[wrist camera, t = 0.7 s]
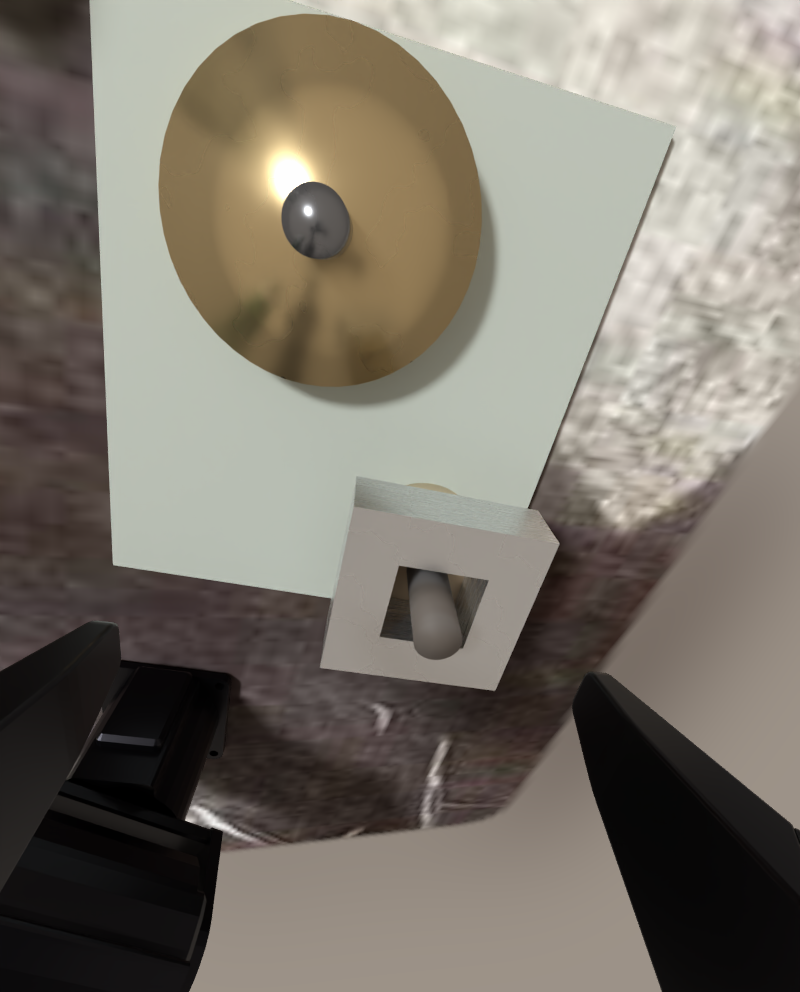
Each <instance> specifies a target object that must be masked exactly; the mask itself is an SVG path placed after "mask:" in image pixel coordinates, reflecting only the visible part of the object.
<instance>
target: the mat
mask: <svg viewBox="0 0 800 992" xmlns="http://www.w3.org/2000/svg"><path fill="white" fill-rule="evenodd" d="M296 14H320V15H331V16H335V17H339V16H336V15H333V14H330V13H327V12H324V11H321V10H318V9H315V8H312V7H308V6H305V5H302V4H299V3H296V2H293V1H290V0H90V23H91V47H92V71H93V95H94V119H95V143H96V167H97V191H98V215H99V239H100V263H101V287H102V311H103V336H104V360H105V384H106V408H107V432H108V456H109V480H110V504H111V528H112V552H113V565H117V566H123V567H130V568H136V569H143V570H150V571H156V572H163V573H169V574H176V575H182V576H189V577H195V578H202V579H209V580H215V581H222V582H228V583H235V584H241V585H248V586H254V587H261V588H268V589H274V590H281V591H287V592H294V593H300V594H307V595H313V596H320V597H326V598H332V593H333V588H334V583H335V578H336V574H337V569H338V564H339V559H340V554H341V549H342V544H343V540H344V535H345V530H346V525H347V520H348V515H349V510H350V506H351V501H352V496H353V491H354V486H355V481H356V476H360V477H365V478H370V479H375V480H381V481H386V482H391V483H396V484H402V485H409V484H414V483H430V484H436V485H440V486H443V487H445V488H448V489H449V490H451V491H453V492H454V493H456V494H457V495H459V496H465V497H470V498H475V499H480V500H486V501H491V502H496V503H501V504H507V505H512V506H517V507H522V508H528V506H529V504H530V501H531V498H532V496H533V493H534V491H535V488H536V486H537V483H538V480H539V478H540V475H541V473H542V470H543V468H544V465H545V462H546V460H547V457H548V455H549V452H550V450H551V447H552V444H553V442H554V439H555V437H556V434H557V432H558V429H559V427H560V424H561V421H562V419H563V416H564V414H565V411H566V409H567V406H568V403H569V401H570V398H571V396H572V393H573V391H574V388H575V385H576V383H577V380H578V378H579V375H580V373H581V370H582V367H583V365H584V362H585V360H586V357H587V355H588V352H589V350H590V347H591V344H592V342H593V339H594V337H595V334H596V332H597V329H598V326H599V324H600V321H601V319H602V316H603V314H604V311H605V308H606V306H607V303H608V301H609V298H610V296H611V293H612V290H613V288H614V285H615V283H616V280H617V278H618V275H619V273H620V270H621V267H622V265H623V262H624V260H625V257H626V255H627V252H628V249H629V247H630V244H631V242H632V239H633V237H634V234H635V231H636V229H637V226H638V224H639V221H640V219H641V216H642V214H643V211H644V208H645V206H646V203H647V201H648V198H649V196H650V193H651V190H652V188H653V185H654V183H655V180H656V178H657V175H658V172H659V170H660V167H661V165H662V162H663V160H664V157H665V154H666V152H667V149H668V147H669V144H670V142H671V139H672V137H673V134H674V131H675V129H676V126H673V125H670V124H667V123H664V122H661V121H658V120H655V119H652V118H648V117H645V116H642V115H639V114H636V113H633V112H630V111H627V110H624V109H621V108H618V107H615V106H612V105H609V104H606V103H603V102H599V101H596V100H593V99H590V98H587V97H584V96H581V95H578V94H575V93H572V92H569V91H566V90H563V89H560V88H557V87H554V86H550V85H547V84H544V83H541V82H538V81H535V80H532V79H529V78H526V77H523V76H520V75H517V74H514V73H511V72H508V71H505V70H501V69H498V68H495V67H492V66H489V65H486V64H483V63H480V62H477V61H474V60H471V59H468V58H465V57H462V56H459V55H456V54H452V53H449V52H446V51H443V50H440V49H437V48H434V47H431V46H428V45H425V44H422V43H419V42H416V41H413V40H410V39H406V38H403V37H400V36H397V35H394V34H391V33H388V32H385V31H382V30H379V29H376V28H373V27H370V26H367V25H364V24H362V25H364V26H367V27H369V28H371V29H374V30H376V31H378V32H380V33H381V34H383V35H384V36H386V37H388V38H389V39H391V40H393V41H394V42H396V43H397V44H399V45H400V46H401V47H402V48H404V49H405V50H406V51H407V52H408V53H410V54H411V55H412V56H413V57H414V58H416V59H417V60H418V61H419V62H420V63H421V64H422V65H423V67H424V68H425V69H426V70H427V71H428V72H429V73H430V74H431V75H432V76H433V78H434V79H435V80H436V81H437V83H438V84H439V85H440V87H441V88H442V90H443V91H444V93H445V94H446V96H447V97H448V98H449V100H450V101H451V103H452V105H453V107H454V109H455V111H456V113H457V115H458V117H459V118H460V120H461V122H462V124H463V127H464V129H465V132H466V135H467V137H468V140H469V142H470V145H471V148H472V151H473V155H474V159H475V163H476V167H477V171H478V176H479V184H480V191H481V202H482V227H481V238H480V247H479V252H478V256H477V261H476V266H475V270H474V273H473V276H472V279H471V282H470V285H469V288H468V290H467V292H466V294H465V297H464V299H463V301H462V303H461V305H460V307H459V309H458V311H457V312H456V314H455V315H454V317H453V319H452V320H451V322H450V324H449V325H448V326H447V328H446V329H445V330H444V331H443V333H442V334H441V335H440V336H439V338H438V339H437V340H436V341H435V342H434V343H433V344H432V345H431V346H430V347H429V348H428V349H427V350H426V351H425V352H424V353H423V354H421V355H420V356H419V357H417V358H416V359H415V360H413V361H412V362H411V363H409V364H408V365H406V366H404V367H403V368H401V369H399V370H397V371H395V372H394V373H392V374H390V375H387V376H385V377H382V378H380V379H377V380H374V381H370V382H366V383H362V384H358V385H351V386H342V387H321V386H314V385H307V384H301V383H298V382H294V381H291V380H287V379H284V378H282V377H279V376H277V375H274V374H272V373H270V372H267V371H265V370H264V369H262V368H260V367H258V366H256V365H255V364H253V363H251V362H249V361H248V360H247V359H245V358H244V357H243V356H241V355H240V354H239V353H237V352H236V351H234V350H233V349H232V348H231V347H230V346H229V345H228V344H227V343H225V342H224V341H223V340H222V339H221V338H220V337H219V336H218V335H217V334H216V333H215V332H214V331H213V329H212V328H211V327H210V326H209V325H208V324H207V322H206V321H205V320H204V319H203V318H202V316H201V315H200V313H199V312H198V310H197V309H196V307H195V306H194V305H193V303H192V302H191V300H190V298H189V297H188V295H187V293H186V291H185V289H184V287H183V285H182V284H181V282H180V280H179V278H178V275H177V273H176V270H175V268H174V265H173V263H172V260H171V258H170V254H169V251H168V247H167V244H166V240H165V237H164V233H163V227H162V221H161V215H160V208H159V188H158V182H159V167H160V157H161V151H162V146H163V141H164V136H165V132H166V129H167V126H168V123H169V120H170V117H171V114H172V111H173V109H174V107H175V105H176V103H177V101H178V99H179V97H180V95H181V93H182V91H183V89H184V87H185V85H186V84H187V82H188V81H189V80H190V78H191V77H192V75H193V74H194V72H195V71H196V69H197V68H198V67H199V66H200V65H201V64H202V63H203V61H204V60H205V59H206V58H207V57H208V56H209V55H210V54H211V53H212V52H213V51H214V50H215V49H216V48H217V47H219V46H220V45H221V44H223V43H224V42H225V41H227V40H228V39H229V38H231V37H232V36H233V35H235V34H237V33H239V32H241V31H243V30H245V29H247V28H248V27H250V26H252V25H254V24H256V23H259V22H263V21H266V20H269V19H273V18H276V17H279V16H287V15H296ZM339 18H342V17H339ZM343 19H345V18H343ZM359 24H361V23H359Z"/></svg>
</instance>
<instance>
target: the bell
mask: <svg viewBox="0 0 800 992" xmlns="http://www.w3.org/2000/svg"><path fill="white" fill-rule="evenodd" d="M158 188H159V208H160V215H161V221H162V227H163V233H164V237H165V240H166V244H167V247H168V251H169V254H170V258H171V260H172V263H173V265H174V268H175V270H176V273H177V275H178V278H179V280H180V282H181V284H182V285H183V287H184V289H185V291H186V293H187V295H188V297H189V298H190V300H191V302H192V303H193V305H194V306H195V307H196V309H197V310H198V312H199V313H200V315H201V316H202V318H203V319H204V320H205V321H206V322H207V324H208V325H209V326H210V327H211V328H212V329H213V331H214V332H215V333H216V334H217V335H218V336H219V337H220V338H221V339H222V340H223V341H224V342H225V343H227V344H228V345H229V346H230V347H231V348H232V349H233V350H234V351H236V352H237V353H239V354H240V355H241V356H243V357H244V358H245V359H247V360H248V361H249V362H251V363H253V364H255V365H256V366H258V367H260V368H262V369H264V370H265V371H267V372H270V373H272V374H274V375H277V376H279V377H282V378H284V379H287V380H291V381H294V382H298V383H301V384H307V385H314V386H321V387H342V386H351V385H358V384H362V383H366V382H370V381H374V380H377V379H380V378H382V377H385V376H387V375H390V374H392V373H394V372H395V371H397V370H399V369H401V368H403V367H404V366H406V365H408V364H409V363H411V362H412V361H413V360H415V359H416V358H417V357H419V356H420V355H421V354H423V353H424V352H425V351H426V350H427V349H428V348H429V347H430V346H431V345H432V344H433V343H434V342H435V341H436V340H437V339H438V338H439V336H440V335H441V334H442V333H443V331H444V330H445V329H446V328H447V326H448V325H449V324H450V322H451V320H452V319H453V317H454V315H455V314H456V312H457V311H458V309H459V307H460V305H461V303H462V301H463V299H464V297H465V294H466V292H467V290H468V288H469V285H470V282H471V279H472V276H473V273H474V270H475V266H476V261H477V256H478V252H479V247H480V238H481V227H482V202H481V191H480V184H479V176H478V171H477V167H476V163H475V159H474V155H473V151H472V148H471V145H470V142H469V140H468V137H467V135H466V132H465V129H464V127H463V124H462V122H461V120H460V118H459V117H458V115H457V113H456V111H455V109H454V107H453V105H452V103H451V101H450V100H449V98H448V97H447V96H446V94H445V93H444V91H443V90H442V88H441V87H440V85H439V84H438V83H437V81H436V80H435V79H434V78H433V76H432V75H431V74H430V73H429V72H428V71H427V70H426V69H425V68H424V67H423V65H422V64H421V63H420V62H419V61H418V60H417V59H416V58H414V57H413V56H412V55H411V54H410V53H408V52H407V51H406V50H405V49H404V48H402V47H401V46H400V45H399V44H397V43H396V42H394V41H393V40H391V39H389V38H388V37H386V36H384V35H383V34H381V33H380V32H378V31H376V30H374V29H371V28H369V27H367V26H364V25H362V24H359V23H357V22H355V21H352V20H348V19H343V18H339V17H335V16H331V15H320V14H296V15H287V16H279V17H276V18H273V19H269V20H266V21H263V22H259V23H256V24H254V25H252V26H250V27H248V28H247V29H245V30H243V31H241V32H239V33H237V34H235V35H233V36H232V37H231V38H229V39H228V40H227V41H225V42H224V43H223V44H221V45H220V46H219V47H217V48H216V49H215V50H214V51H213V52H212V53H211V54H210V55H209V56H208V57H207V58H206V59H205V60H204V61H203V63H202V64H201V65H200V66H199V67H198V68H197V69H196V71H195V72H194V74H193V75H192V77H191V78H190V80H189V81H188V82H187V84H186V85H185V87H184V89H183V91H182V93H181V95H180V97H179V99H178V101H177V103H176V105H175V107H174V109H173V111H172V114H171V117H170V120H169V123H168V126H167V129H166V132H165V136H164V141H163V146H162V151H161V157H160V167H159V182H158Z"/></svg>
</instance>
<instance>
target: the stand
mask: <svg viewBox="0 0 800 992" xmlns="http://www.w3.org/2000/svg"><path fill="white" fill-rule="evenodd" d="M407 486H412V487H417V488H423V489H428V490H433V491H438V492H444V493H449V494H454V495H457V494H456V493H454V492H453V491H451V490H449V489H448V488H445V487H443V486H440V485H436V484H430V483H414V484H409V485H407ZM463 578H464V576H459V575H453V574H447V573H441V572H435V571H429V570H423V569H417V568H411V567H405V566H399V567H398V571H397V575H396V578H395V582H394V586H393V589H392V593H391V598H398V599H404V600H409V602H410V613H411V623H412V633H413V643H414V648H415V650H416V651H417V653H418V654H419V655H421V656H422V657H424V658H427V659H431V660H441V659H446V658H448V657H450V656H452V655H454V654H455V653H456V652H457V651H458V650H459V649H460V647H461V645H462V634H461V630H460V626H459V621H458V617H457V613H456V608H455V601H456V599H457V596H458V593H459V590H460V587H461V584H462V581H463Z"/></svg>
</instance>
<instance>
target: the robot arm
mask: <svg viewBox="0 0 800 992" xmlns="http://www.w3.org/2000/svg"><path fill="white" fill-rule="evenodd" d="M220 683H221V684H220ZM230 690H231V679H230V677H229V676H227V675H225V674H219V673H211V672H203V671H196V670H188V669H180V668H172V667H164V666H156V665H148V664H140V663H132V662H124V661H121V651H120V638H119V629H118V626H117V624H115V623H113V622H103V621H91V622H88V623H86V624H84V625H82V626H81V627H79V628H77V629H75V630H73V631H72V632H70V633H68V634H66V635H65V636H63V637H61V638H59V639H57V640H56V641H54V642H52V643H50V644H48V645H47V646H45V647H43V648H41V649H39V650H38V651H36V652H34V653H32V654H31V655H29V656H27V657H25V658H23V659H22V660H20V661H18V662H16V663H14V664H13V665H11V666H9V667H7V668H6V669H4V670H2V671H0V992H189V991H190V988H191V986H192V984H193V981H194V979H195V976H196V974H197V971H198V969H199V966H200V963H201V960H202V957H203V954H204V950H205V947H206V943H207V939H208V935H209V931H210V925H211V920H212V912H213V904H214V896H215V888H216V881H217V872H218V865H219V857H220V850H221V842H222V834H223V832H222V831H220V830H217V829H215V828H211V829H207V828H204V827H201V826H199V825H196V824H193V823H190V822H187V821H185V819H186V816H187V813H188V810H189V807H190V804H191V801H192V798H193V796H194V793H195V790H196V787H197V784H198V781H199V778H200V775H201V772H202V770H203V767H204V764H205V761H206V758H209V759H218V758H220V757H222V755H223V751H224V748H225V739H226V729H227V719H228V709H229V700H230ZM101 707H102V710H103V714H102V716H101V718H100V719H99V721H98V723H97V724H96V726H95V727H94V729H93V731H92V732H91V729H92V727H93V725H94V723H95V721H96V718H97V716H98V714H99V712H100V710H101ZM572 709H573V715H574V719H575V723H576V727H577V731H578V735H579V740H580V744H581V748H582V752H583V755H584V760H585V764H586V768H587V772H588V776H589V780H590V783H591V787H592V791H593V794H594V797H595V800H596V803H597V806H598V809H599V811H600V814H601V817H602V820H603V823H604V826H605V829H606V832H607V835H608V838H609V841H610V843H611V846H612V849H613V852H614V855H615V857H616V861H617V864H618V866H619V869H620V872H621V875H622V878H623V881H624V884H625V887H626V890H627V892H628V895H629V898H630V901H631V904H632V907H633V910H634V912H635V915H636V918H637V921H638V924H639V927H640V930H641V933H642V936H643V938H644V941H645V944H646V947H647V950H648V953H649V956H650V958H651V961H652V964H653V967H654V970H655V973H656V976H657V979H658V982H659V984H660V988H661V990H662V992H800V830H798V829H796V828H795V829H794V828H793V825H792V824H791V823H790V822H789V821H787V820H786V819H785V818H784V817H782V816H781V815H780V814H779V813H777V812H776V811H775V810H774V809H773V808H772V807H770V806H769V805H768V804H767V803H765V802H764V801H763V800H762V799H761V798H759V797H758V796H757V795H756V794H754V793H753V792H752V791H751V790H750V789H748V788H747V787H746V786H745V785H743V784H742V783H741V782H740V781H739V780H737V779H736V778H735V777H734V776H733V775H731V774H730V773H729V772H728V771H726V770H725V769H724V768H722V766H720V765H719V764H718V763H717V762H716V761H714V760H713V759H712V758H710V757H709V756H708V755H707V754H706V753H705V752H703V751H702V750H701V749H700V748H698V747H697V746H696V745H695V744H694V743H692V742H691V741H690V740H689V739H687V738H686V737H685V736H684V735H683V734H681V733H680V732H679V731H678V730H677V729H675V728H674V727H673V726H672V725H670V724H669V723H668V722H667V721H666V720H664V719H663V718H662V717H661V716H659V715H658V714H657V713H656V712H654V711H653V710H652V709H650V707H649V706H647V705H646V704H645V703H644V702H642V701H641V700H640V699H639V698H637V697H636V696H635V695H634V694H633V693H631V692H630V691H629V690H628V689H627V688H625V687H624V686H623V685H622V684H621V683H619V682H618V681H617V680H616V679H614V678H613V677H612V676H611V675H609V674H607V673H600V672H588V673H587V674H585V676H584V678H583V680H582V682H581V684H580V686H579V689H578V691H577V693H576V695H575V697H574V699H573V705H572ZM90 732H91V734H90ZM89 734H90V736H89ZM88 736H89V737H88ZM87 738H88V739H87ZM86 740H87V741H86Z"/></svg>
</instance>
